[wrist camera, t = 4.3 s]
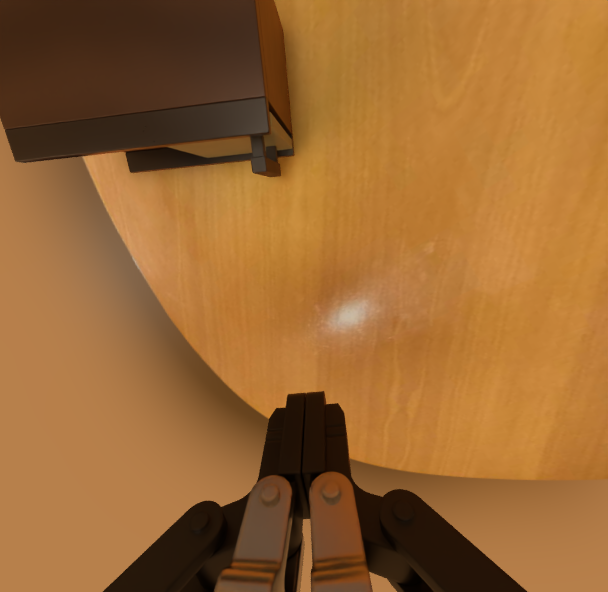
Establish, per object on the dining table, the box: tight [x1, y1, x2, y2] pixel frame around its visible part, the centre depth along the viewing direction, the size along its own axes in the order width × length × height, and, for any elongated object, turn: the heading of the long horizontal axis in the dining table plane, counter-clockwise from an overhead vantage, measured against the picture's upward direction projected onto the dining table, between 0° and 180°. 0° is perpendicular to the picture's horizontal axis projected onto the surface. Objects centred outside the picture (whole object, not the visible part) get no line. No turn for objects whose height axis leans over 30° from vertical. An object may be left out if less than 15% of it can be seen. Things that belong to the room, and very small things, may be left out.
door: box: [167, 112, 292, 177], centre depth 24 cm, size 3×8×10 cm, turn 95°
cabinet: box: [0, 0, 294, 173], centre depth 23 cm, size 10×16×12 cm, turn 95°
